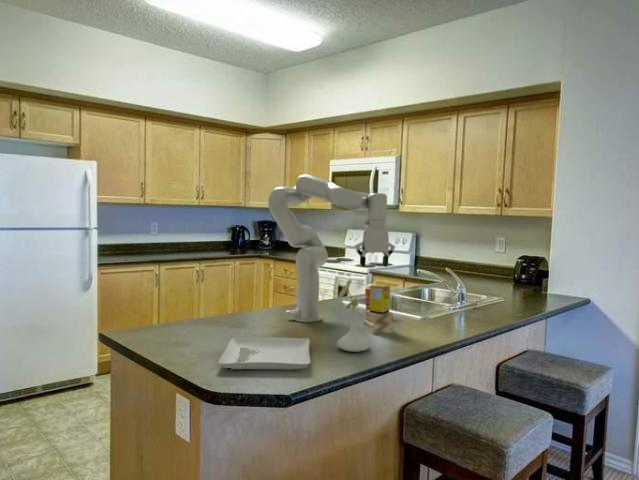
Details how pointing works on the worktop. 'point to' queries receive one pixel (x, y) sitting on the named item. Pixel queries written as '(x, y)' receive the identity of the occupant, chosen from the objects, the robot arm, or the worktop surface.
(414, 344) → the worktop surface
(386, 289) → the supplement box
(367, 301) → the paper cup
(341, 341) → the flower in vase
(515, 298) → the worktop surface
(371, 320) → the maple top block
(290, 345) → the square plate
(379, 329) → the birch base block
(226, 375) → the worktop surface
